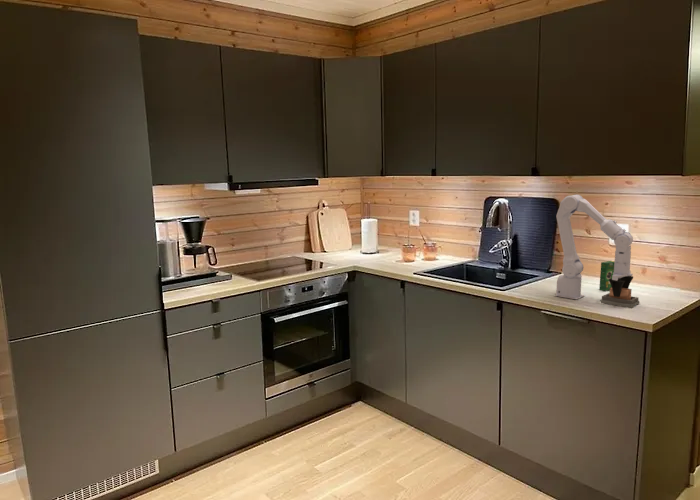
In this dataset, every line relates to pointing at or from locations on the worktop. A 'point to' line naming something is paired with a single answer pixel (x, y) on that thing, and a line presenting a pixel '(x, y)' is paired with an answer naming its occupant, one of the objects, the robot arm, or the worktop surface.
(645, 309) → the worktop surface
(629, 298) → the terracotta bar
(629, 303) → the nest plate
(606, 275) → the coffee box
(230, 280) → the worktop surface
